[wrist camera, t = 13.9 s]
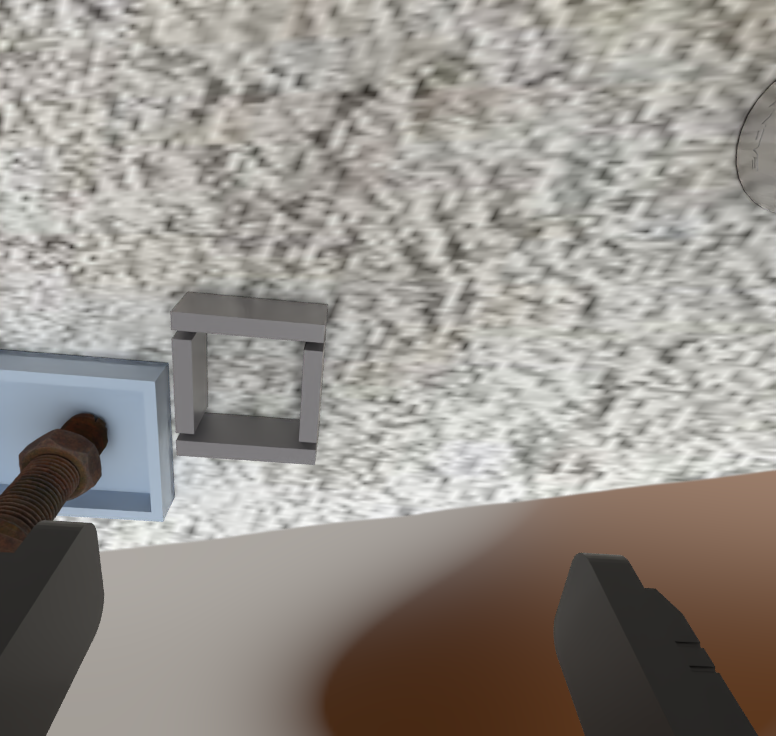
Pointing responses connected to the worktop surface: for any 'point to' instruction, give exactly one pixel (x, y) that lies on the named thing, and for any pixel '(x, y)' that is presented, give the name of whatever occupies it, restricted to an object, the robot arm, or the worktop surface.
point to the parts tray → (104, 400)
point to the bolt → (51, 476)
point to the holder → (237, 431)
